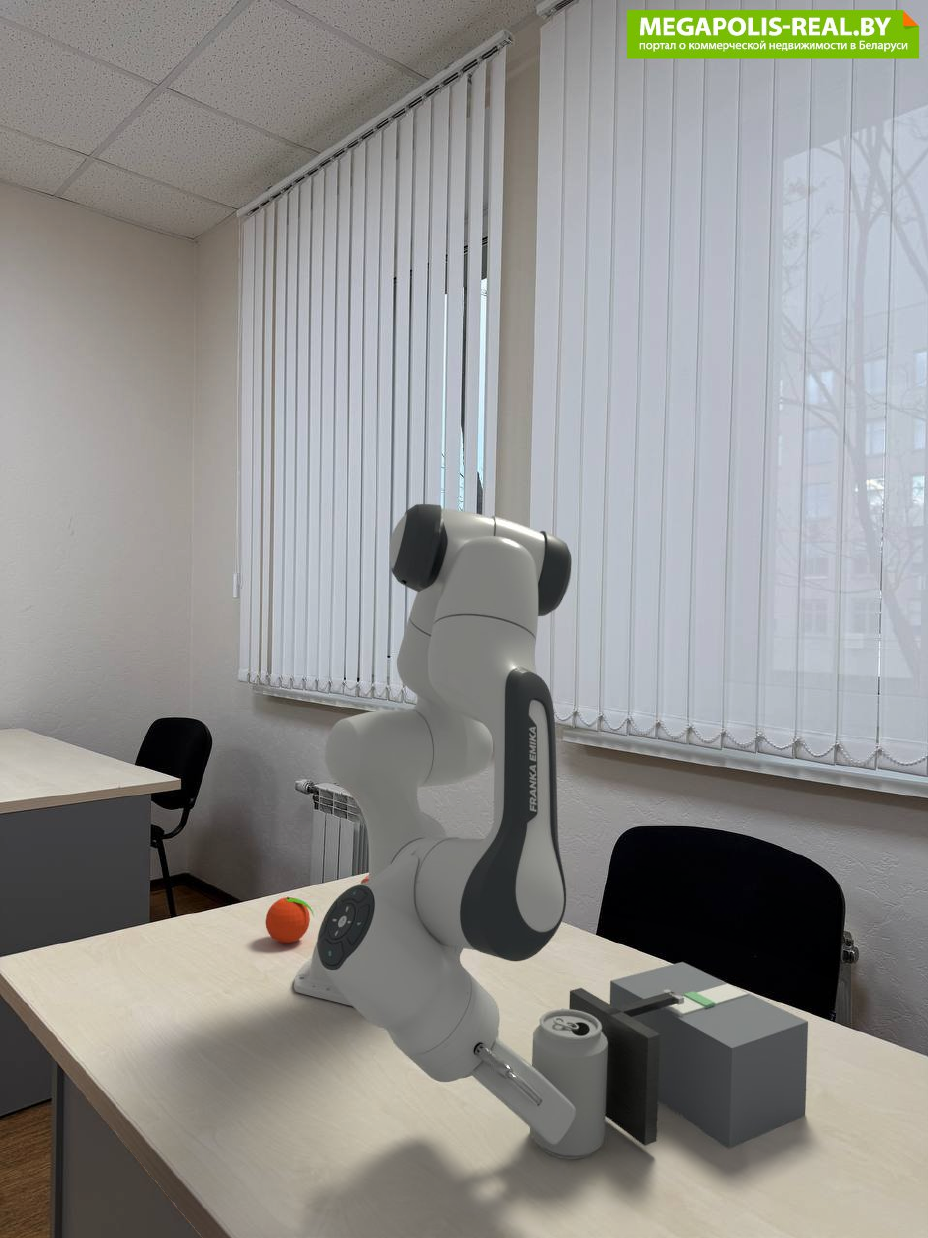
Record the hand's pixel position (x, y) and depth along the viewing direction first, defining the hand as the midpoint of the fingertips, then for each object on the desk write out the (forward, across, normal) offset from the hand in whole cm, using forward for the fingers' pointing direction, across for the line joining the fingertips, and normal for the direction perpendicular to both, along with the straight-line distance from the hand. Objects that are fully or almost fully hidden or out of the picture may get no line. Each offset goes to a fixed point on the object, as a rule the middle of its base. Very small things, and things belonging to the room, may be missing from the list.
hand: (532, 1104), depth 83 cm
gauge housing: (+20, 0, -14) cm, 24 cm away
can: (+7, 0, 0) cm, 7 cm away
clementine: (+2, +62, +5) cm, 62 cm away
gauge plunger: (+13, 0, -8) cm, 15 cm away
